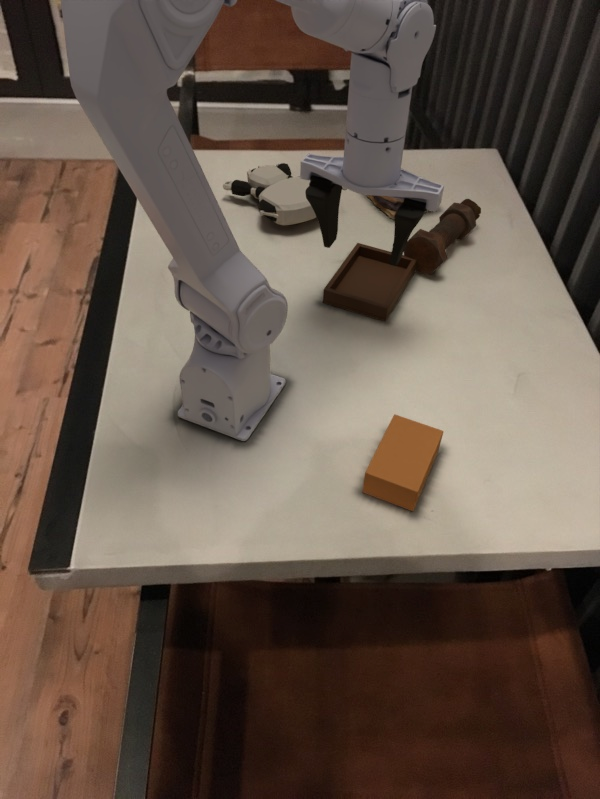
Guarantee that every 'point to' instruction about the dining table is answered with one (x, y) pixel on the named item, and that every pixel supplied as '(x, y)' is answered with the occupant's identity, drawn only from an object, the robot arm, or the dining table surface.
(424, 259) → the bolt
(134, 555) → the dining table surface
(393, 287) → the frame
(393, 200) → the brown sandwich
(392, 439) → the orange block
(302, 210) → the robot toy
